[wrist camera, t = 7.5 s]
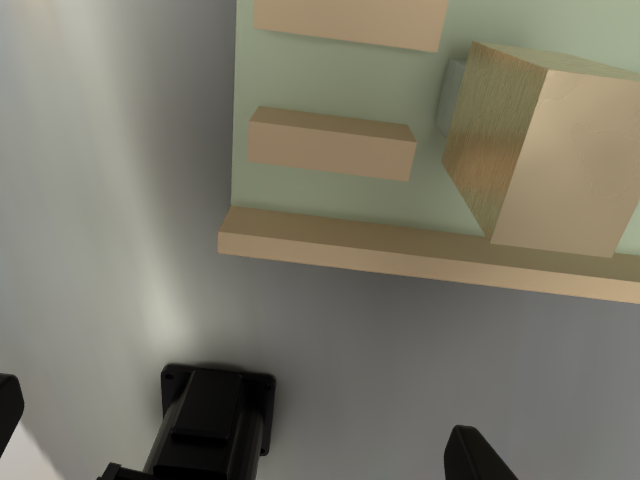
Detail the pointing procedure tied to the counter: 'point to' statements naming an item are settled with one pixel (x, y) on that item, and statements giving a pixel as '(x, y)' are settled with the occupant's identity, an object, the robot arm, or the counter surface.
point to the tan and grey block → (543, 146)
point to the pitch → (395, 138)
